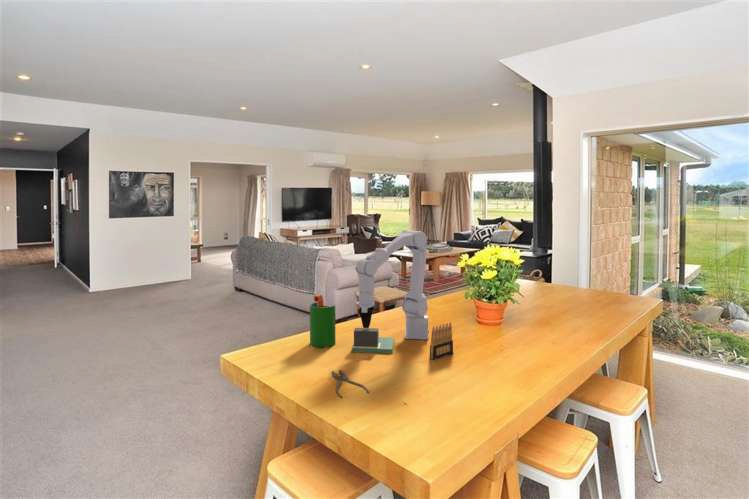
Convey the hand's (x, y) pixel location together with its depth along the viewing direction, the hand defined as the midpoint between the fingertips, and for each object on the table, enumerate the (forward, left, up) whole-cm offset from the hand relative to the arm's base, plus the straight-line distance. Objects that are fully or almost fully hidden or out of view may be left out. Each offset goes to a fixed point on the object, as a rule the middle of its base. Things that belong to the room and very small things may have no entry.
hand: (366, 326), depth 173 cm
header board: (-3, -4, -9) cm, 10 cm away
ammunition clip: (-28, +4, -9) cm, 30 cm away
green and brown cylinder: (+18, -5, -9) cm, 21 cm away
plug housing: (0, 0, -7) cm, 7 cm away
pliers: (+4, +32, -10) cm, 34 cm away
